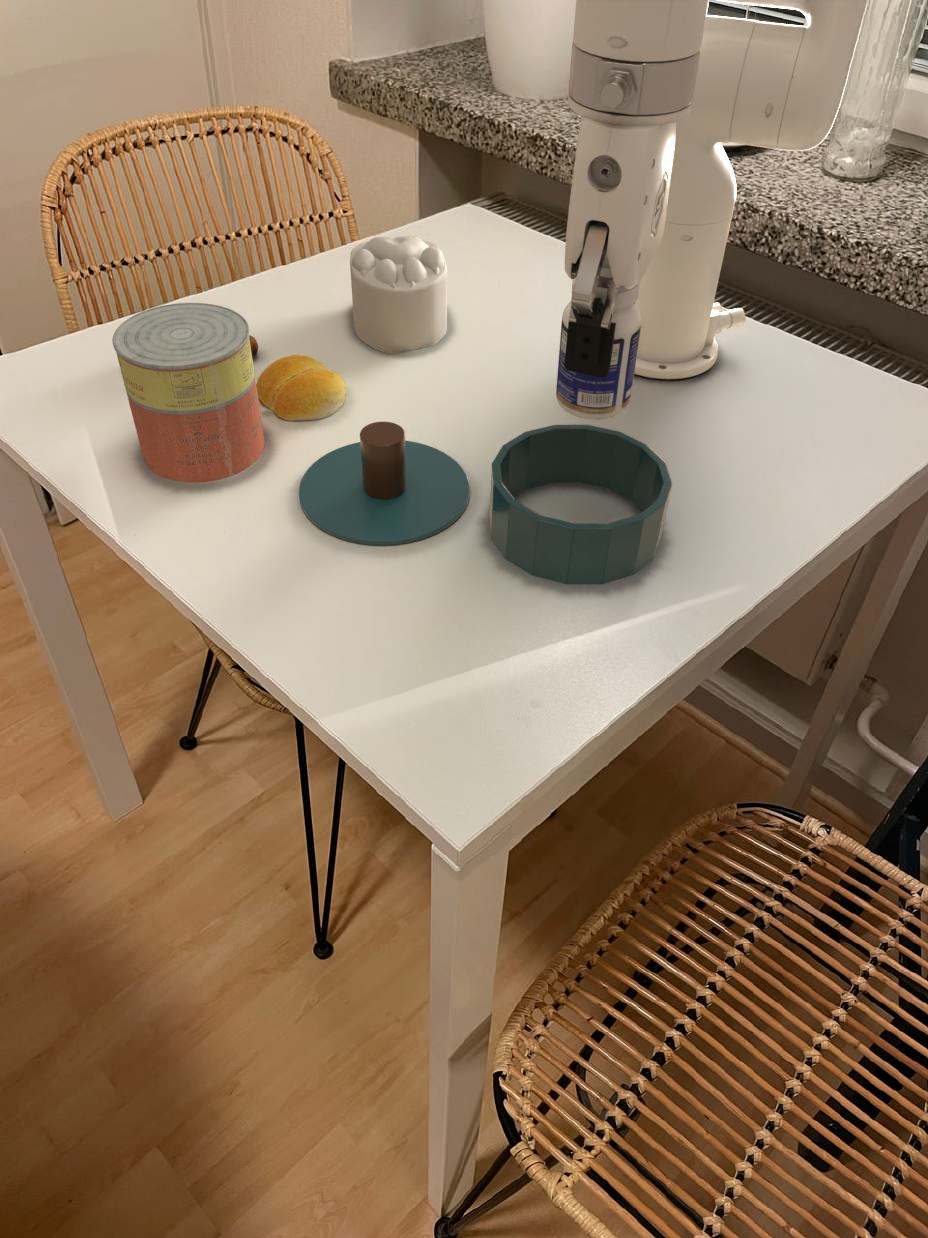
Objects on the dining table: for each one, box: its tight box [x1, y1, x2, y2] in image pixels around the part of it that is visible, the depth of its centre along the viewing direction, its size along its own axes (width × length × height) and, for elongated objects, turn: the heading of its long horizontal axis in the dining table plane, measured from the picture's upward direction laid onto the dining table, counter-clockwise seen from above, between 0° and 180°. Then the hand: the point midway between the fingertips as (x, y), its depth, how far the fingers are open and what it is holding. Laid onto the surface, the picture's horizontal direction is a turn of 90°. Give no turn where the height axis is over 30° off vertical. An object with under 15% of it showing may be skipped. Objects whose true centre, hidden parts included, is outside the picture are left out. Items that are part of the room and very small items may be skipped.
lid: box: [298, 421, 471, 546], centre depth 82 cm, size 15×15×7 cm
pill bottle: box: [555, 268, 641, 421], centre depth 70 cm, size 6×6×10 cm
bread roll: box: [256, 354, 347, 422], centre depth 94 cm, size 8×9×4 cm
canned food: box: [112, 302, 265, 483], centre depth 85 cm, size 11×11×12 cm
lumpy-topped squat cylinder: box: [349, 235, 448, 355], centre depth 104 cm, size 10×13×9 cm
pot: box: [488, 424, 673, 585], centre depth 79 cm, size 14×14×6 cm
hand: (598, 347), depth 70 cm, fingers closed on pill bottle, 5 cm apart
